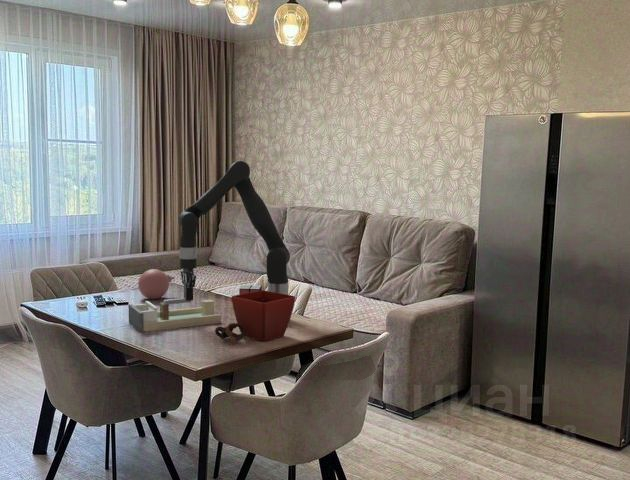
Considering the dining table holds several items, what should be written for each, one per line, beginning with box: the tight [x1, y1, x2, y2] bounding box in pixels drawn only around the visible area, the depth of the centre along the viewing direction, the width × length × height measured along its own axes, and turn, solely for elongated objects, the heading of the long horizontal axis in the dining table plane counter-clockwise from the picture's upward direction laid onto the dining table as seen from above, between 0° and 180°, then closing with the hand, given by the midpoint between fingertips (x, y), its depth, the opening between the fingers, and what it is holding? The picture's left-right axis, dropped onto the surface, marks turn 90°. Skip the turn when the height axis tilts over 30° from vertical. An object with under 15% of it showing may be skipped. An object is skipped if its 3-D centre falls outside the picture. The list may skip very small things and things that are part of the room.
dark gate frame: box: [159, 281, 194, 320], centre depth 278 cm, size 5×14×16 cm, turn 121°
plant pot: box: [231, 289, 296, 342], centre depth 259 cm, size 19×19×17 cm
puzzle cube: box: [238, 284, 263, 295], centre depth 312 cm, size 10×10×10 cm
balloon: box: [137, 268, 175, 300], centre depth 327 cm, size 15×20×15 cm
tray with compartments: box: [128, 299, 222, 333], centre depth 279 cm, size 18×36×9 cm, turn 121°
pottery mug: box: [214, 322, 246, 345], centre depth 251 cm, size 12×10×8 cm
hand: (188, 295), depth 281 cm, fingers closed on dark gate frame, 3 cm apart
